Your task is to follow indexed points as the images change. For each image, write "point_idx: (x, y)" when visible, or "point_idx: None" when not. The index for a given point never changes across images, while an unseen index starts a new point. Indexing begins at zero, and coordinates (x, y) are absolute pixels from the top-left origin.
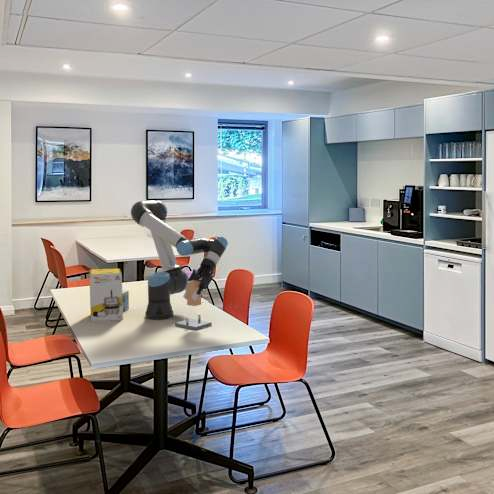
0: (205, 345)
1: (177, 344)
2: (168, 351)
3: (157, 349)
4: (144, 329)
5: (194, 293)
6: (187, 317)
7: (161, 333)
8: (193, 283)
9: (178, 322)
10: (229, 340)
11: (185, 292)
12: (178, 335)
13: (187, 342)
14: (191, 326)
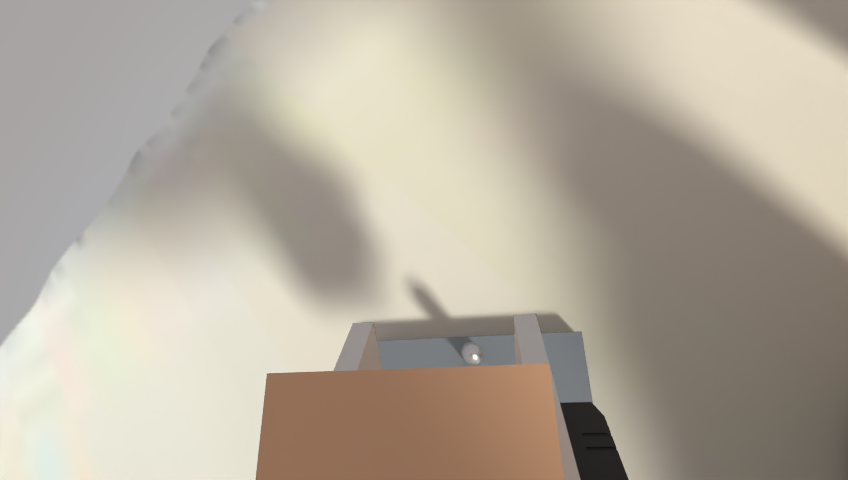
0: (161, 160)
1: (279, 91)
2: (251, 18)
3: (304, 5)
4: (646, 144)
5: (343, 370)
6: (473, 355)
7: (488, 155)
8: (305, 372)
9: (573, 358)
10: (92, 296)
11: (542, 362)
12: (380, 189)
13: (259, 138)
14: (415, 340)
